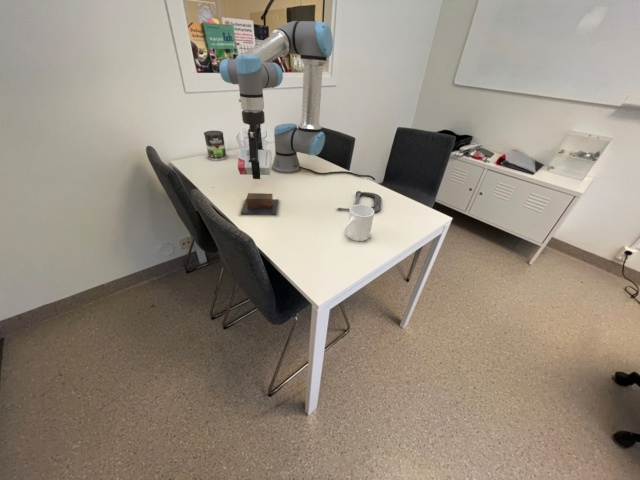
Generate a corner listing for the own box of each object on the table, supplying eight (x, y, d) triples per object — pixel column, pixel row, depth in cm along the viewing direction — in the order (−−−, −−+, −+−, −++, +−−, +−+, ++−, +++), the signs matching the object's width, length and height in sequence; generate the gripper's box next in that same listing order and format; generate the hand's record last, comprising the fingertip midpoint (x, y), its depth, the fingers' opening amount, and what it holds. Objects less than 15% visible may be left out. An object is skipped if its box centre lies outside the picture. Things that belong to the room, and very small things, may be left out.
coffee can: (228, 159, 155) (224, 134, 147) (210, 161, 151) (205, 135, 143) (225, 153, 162) (221, 129, 154) (207, 155, 158) (202, 131, 150)
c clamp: (378, 218, 109) (379, 212, 107) (337, 210, 113) (338, 204, 111) (384, 198, 124) (385, 192, 123) (348, 191, 128) (349, 186, 127)
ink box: (239, 175, 100) (271, 176, 101) (237, 167, 95) (269, 168, 96) (241, 157, 103) (272, 158, 104) (239, 148, 98) (271, 149, 99)
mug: (335, 237, 96) (338, 212, 90) (356, 226, 103) (360, 202, 97) (353, 248, 91) (357, 222, 85) (374, 236, 98) (379, 211, 92)
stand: (278, 201, 116) (277, 189, 113) (276, 215, 107) (275, 203, 103) (246, 200, 115) (244, 189, 112) (241, 214, 105) (239, 202, 102)
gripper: (246, 104, 98) (252, 163, 111) (235, 116, 80) (243, 185, 93) (267, 105, 98) (270, 163, 111) (259, 117, 80) (265, 185, 94)
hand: (258, 173), depth 102 cm, fingers closed on ink box, 9 cm apart
